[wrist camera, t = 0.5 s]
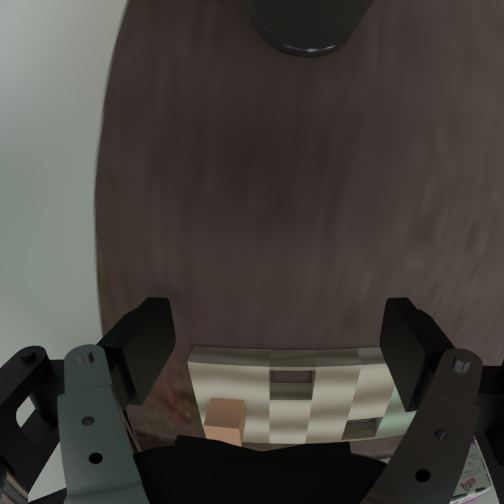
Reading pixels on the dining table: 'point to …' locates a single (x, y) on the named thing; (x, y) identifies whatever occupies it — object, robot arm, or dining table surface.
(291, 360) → the checkered shape sorter board
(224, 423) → the block
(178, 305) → the dining table surface
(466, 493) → the candy bar box
